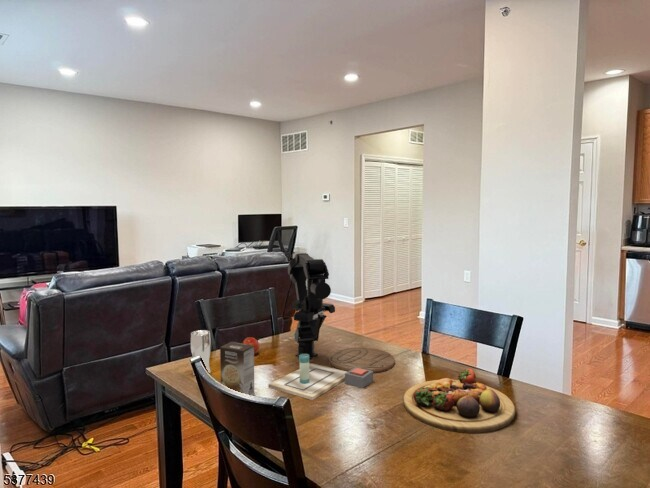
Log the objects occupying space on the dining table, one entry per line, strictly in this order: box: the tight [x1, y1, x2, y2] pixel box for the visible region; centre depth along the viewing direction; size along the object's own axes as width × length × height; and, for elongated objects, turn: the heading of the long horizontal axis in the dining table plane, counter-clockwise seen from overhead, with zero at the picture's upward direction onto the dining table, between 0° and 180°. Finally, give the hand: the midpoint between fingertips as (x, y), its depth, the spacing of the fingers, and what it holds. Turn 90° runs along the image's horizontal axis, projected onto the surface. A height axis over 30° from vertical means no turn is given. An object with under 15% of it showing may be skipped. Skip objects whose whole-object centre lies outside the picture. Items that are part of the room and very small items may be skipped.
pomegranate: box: [242, 336, 261, 355], centre depth 181 cm, size 7×7×10 cm
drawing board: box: [267, 362, 347, 401], centre depth 153 cm, size 24×18×1 cm
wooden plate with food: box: [402, 368, 516, 434], centre depth 134 cm, size 32×32×8 cm
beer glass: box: [190, 329, 212, 376], centre depth 160 cm, size 7×7×15 cm
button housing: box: [344, 367, 374, 389], centre depth 152 cm, size 7×7×4 cm
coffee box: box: [219, 341, 255, 396], centre depth 142 cm, size 9×6×16 cm
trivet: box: [328, 347, 395, 375], centre depth 172 cm, size 25×25×2 cm
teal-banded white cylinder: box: [298, 354, 310, 384], centre depth 150 cm, size 3×3×9 cm
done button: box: [351, 368, 367, 376], centre depth 152 cm, size 4×4×3 cm
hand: (315, 335), depth 166 cm, fingers closed
